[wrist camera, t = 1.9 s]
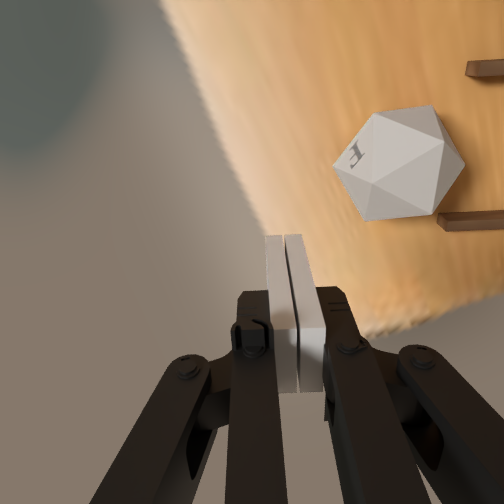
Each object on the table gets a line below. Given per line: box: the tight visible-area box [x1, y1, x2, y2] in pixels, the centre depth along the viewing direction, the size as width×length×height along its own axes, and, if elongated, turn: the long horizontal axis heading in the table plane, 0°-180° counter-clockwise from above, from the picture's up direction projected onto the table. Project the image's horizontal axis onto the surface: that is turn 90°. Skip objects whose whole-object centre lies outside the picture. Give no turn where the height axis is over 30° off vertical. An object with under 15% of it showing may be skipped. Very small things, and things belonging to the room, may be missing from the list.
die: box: [333, 105, 465, 221], centre depth 30 cm, size 8×9×10 cm
